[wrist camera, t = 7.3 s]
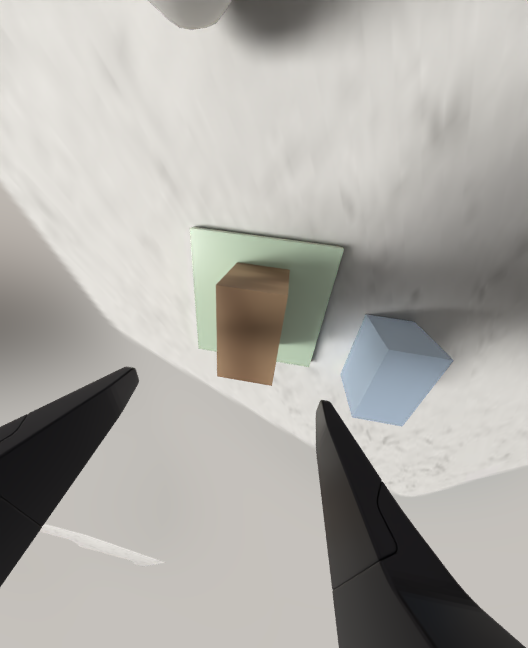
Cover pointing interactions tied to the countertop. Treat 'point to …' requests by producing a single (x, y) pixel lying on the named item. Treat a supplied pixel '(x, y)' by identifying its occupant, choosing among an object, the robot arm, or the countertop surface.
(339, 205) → the countertop surface
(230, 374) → the walnut brick
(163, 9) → the donut
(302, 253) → the baseplate
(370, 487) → the robot arm
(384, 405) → the slate brick
